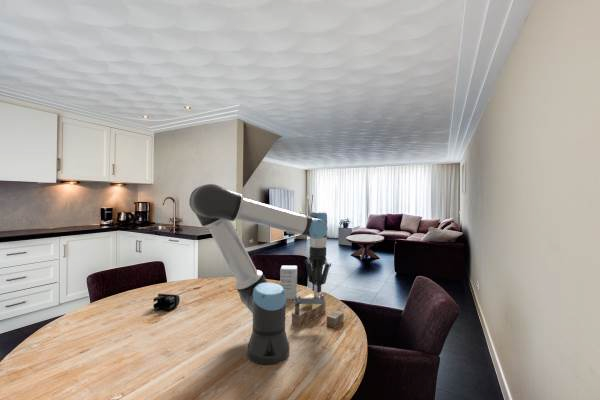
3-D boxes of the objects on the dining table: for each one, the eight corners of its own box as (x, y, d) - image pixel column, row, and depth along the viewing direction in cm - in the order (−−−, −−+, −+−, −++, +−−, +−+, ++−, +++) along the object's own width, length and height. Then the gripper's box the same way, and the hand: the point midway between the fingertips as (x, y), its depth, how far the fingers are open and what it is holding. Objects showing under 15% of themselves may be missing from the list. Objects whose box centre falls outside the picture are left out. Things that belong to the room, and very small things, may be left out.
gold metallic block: (312, 310, 126) (312, 301, 126) (301, 306, 130) (301, 298, 130) (321, 304, 133) (321, 296, 133) (310, 302, 136) (311, 293, 136)
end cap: (179, 306, 141) (180, 293, 141) (171, 312, 134) (171, 298, 134) (161, 305, 142) (161, 292, 142) (152, 310, 135) (152, 296, 135)
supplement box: (296, 300, 153) (296, 269, 153) (279, 299, 153) (280, 268, 153) (296, 294, 163) (297, 265, 163) (281, 293, 163) (281, 264, 163)
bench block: (335, 327, 120) (335, 318, 120) (326, 325, 123) (326, 316, 123) (343, 321, 127) (343, 312, 127) (335, 319, 129) (335, 310, 129)
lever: (293, 304, 121) (294, 296, 121) (293, 301, 124) (294, 293, 124) (324, 304, 121) (325, 296, 121) (324, 302, 124) (324, 294, 124)
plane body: (299, 327, 120) (299, 305, 120) (291, 324, 123) (292, 303, 123) (325, 311, 138) (325, 292, 138) (318, 309, 140) (318, 290, 140)
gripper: (334, 246, 124) (333, 299, 124) (310, 243, 131) (309, 293, 131) (326, 249, 118) (324, 304, 118) (301, 245, 125) (299, 297, 125)
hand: (316, 298), depth 125 cm, fingers closed
